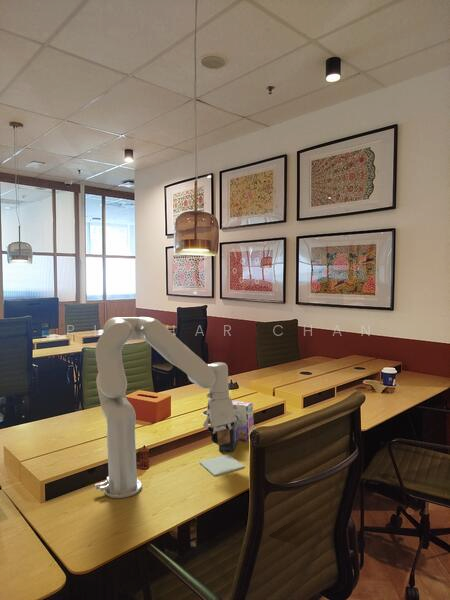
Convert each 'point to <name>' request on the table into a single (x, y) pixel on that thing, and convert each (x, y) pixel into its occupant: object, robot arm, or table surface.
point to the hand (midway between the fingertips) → (221, 440)
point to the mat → (221, 465)
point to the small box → (233, 440)
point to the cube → (222, 435)
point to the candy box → (243, 419)
